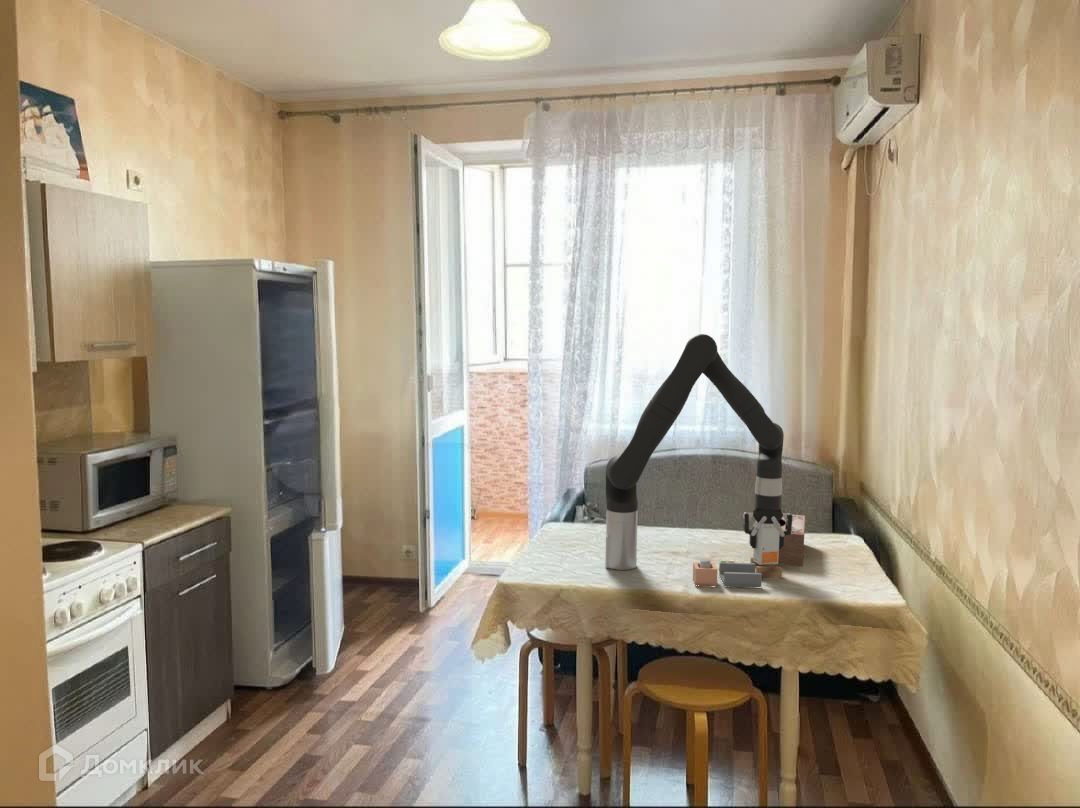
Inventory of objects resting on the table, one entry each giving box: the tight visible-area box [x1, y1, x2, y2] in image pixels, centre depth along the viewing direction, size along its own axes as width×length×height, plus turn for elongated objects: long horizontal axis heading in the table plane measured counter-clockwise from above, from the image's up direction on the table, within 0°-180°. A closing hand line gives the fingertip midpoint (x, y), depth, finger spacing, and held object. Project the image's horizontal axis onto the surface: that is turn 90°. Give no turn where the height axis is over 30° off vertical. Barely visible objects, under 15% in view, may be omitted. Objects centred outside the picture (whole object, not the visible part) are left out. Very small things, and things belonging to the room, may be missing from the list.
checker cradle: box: [718, 559, 763, 588], centre depth 233 cm, size 10×10×5 cm
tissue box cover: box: [753, 513, 806, 568], centre depth 262 cm, size 26×14×10 cm, turn 162°
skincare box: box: [752, 521, 780, 565], centre depth 241 cm, size 6×4×12 cm
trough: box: [749, 556, 783, 580], centre depth 241 cm, size 7×10×3 cm
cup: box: [692, 558, 719, 587], centre depth 232 cm, size 6×6×6 cm
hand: (766, 547), depth 241 cm, fingers closed on skincare box, 7 cm apart
